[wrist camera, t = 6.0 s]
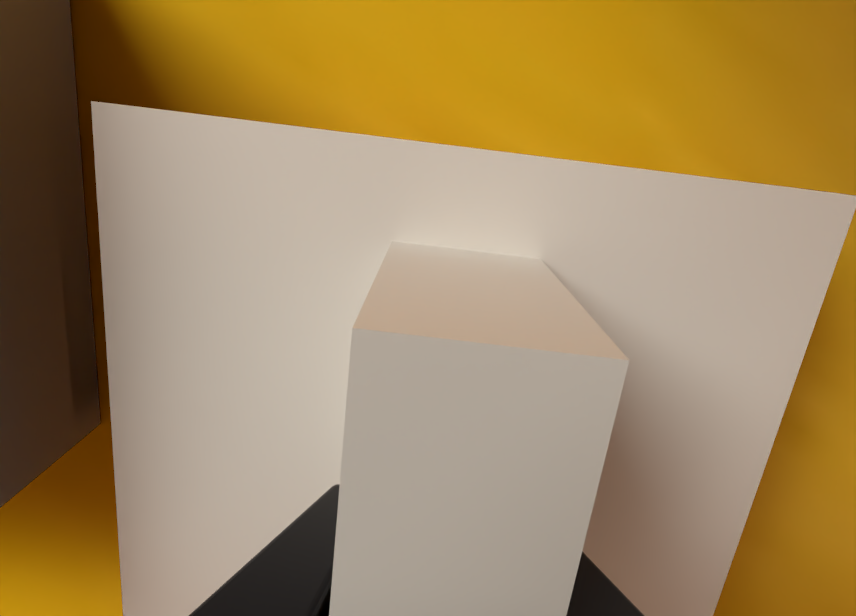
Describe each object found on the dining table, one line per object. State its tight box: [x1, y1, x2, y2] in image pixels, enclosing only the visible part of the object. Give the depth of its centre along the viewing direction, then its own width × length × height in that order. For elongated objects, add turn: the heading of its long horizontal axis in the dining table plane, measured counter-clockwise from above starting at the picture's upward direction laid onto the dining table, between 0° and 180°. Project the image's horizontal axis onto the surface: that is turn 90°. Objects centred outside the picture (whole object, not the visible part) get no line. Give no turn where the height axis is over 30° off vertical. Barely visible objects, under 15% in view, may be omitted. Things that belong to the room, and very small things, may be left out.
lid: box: [91, 101, 856, 616], centre depth 7 cm, size 10×10×5 cm
